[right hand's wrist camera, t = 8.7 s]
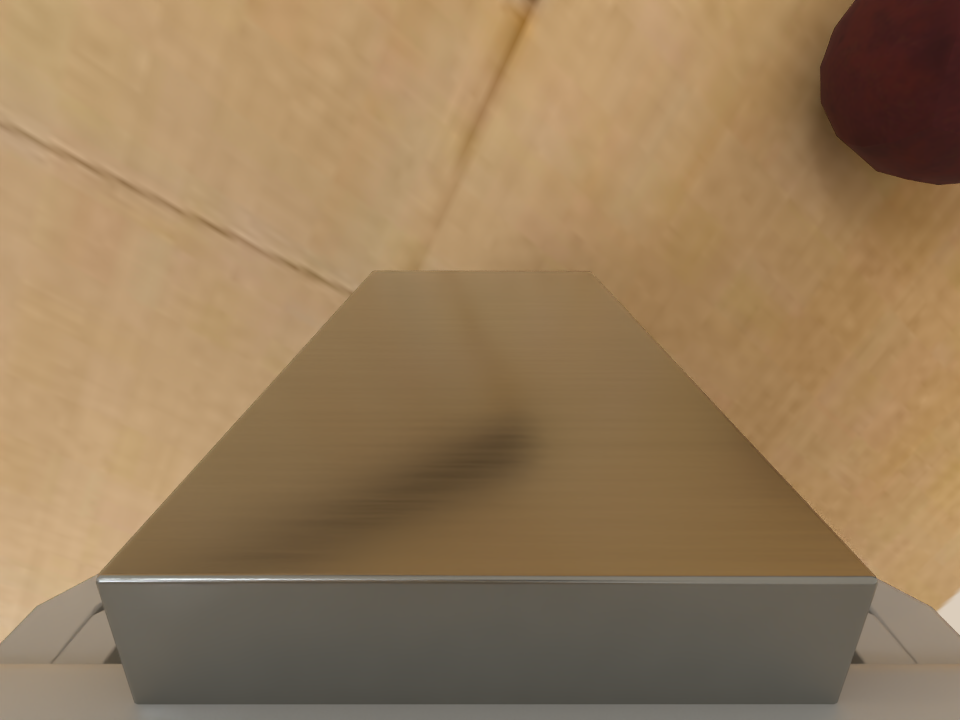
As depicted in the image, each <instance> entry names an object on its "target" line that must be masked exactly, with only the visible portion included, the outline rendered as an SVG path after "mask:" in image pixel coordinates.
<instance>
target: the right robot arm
mask: <svg viewBox="0 0 960 720" xmlns="http://www.w3.org/2000/svg"><path fill="white" fill-rule="evenodd" d="M97 576H98V574H97V575H95V576H93V577H91V578H89V579H88V580H86V581H84V582H82V583H80V584H78V585H76V586H74V587H72V588H71V589H69V590H67V591H65V592H63V593H61V594H59V595H57V596H55V597H53V598H52V599H50V600H48V601H46V602H44V603H42V604H40V605H38V606H37V607H36V608H35V609H34V610H33V611H32V612H31V613H30V614H29V615H28V616H27V617H26V618H25V619H24V620H23V621H22V622H21V623H20V624H19V625H18V626H17V627H16V628H15V629H14V630H13V631H12V632H11V633H10V634H9V635H8V636H7V637H6V638H5V639H4V640H3V641H2V642H1V643H0V720H960V635H959V634H958V633H957V632H956V631H955V630H954V629H953V628H952V627H951V626H950V625H949V624H948V623H947V622H946V621H945V620H944V619H943V618H942V617H941V616H940V615H939V614H938V613H937V612H936V611H935V610H934V609H933V608H932V607H931V606H929V605H927V604H925V603H923V602H921V601H919V600H917V599H915V598H913V597H911V596H910V595H908V594H906V593H904V592H902V591H900V590H898V589H896V588H894V587H892V586H890V585H889V584H887V583H885V582H883V581H881V580H879V579H877V582H878V585H877V588H876V591H875V594H874V597H873V600H872V603H871V606H870V609H869V612H868V615H867V618H866V620H865V623H864V626H863V629H862V632H861V635H860V638H859V641H858V644H857V647H856V650H855V653H854V656H853V659H852V661H851V664H850V667H849V670H848V673H847V676H846V679H845V682H844V685H843V688H842V691H841V694H840V697H839V700H838V702H837V703H836V704H136V703H134V700H133V697H132V694H131V691H130V688H129V685H128V682H127V678H126V675H125V672H124V669H123V666H122V663H121V660H120V657H119V654H118V650H117V647H116V644H115V641H114V638H113V635H112V632H111V629H110V626H109V623H108V619H107V616H106V613H105V610H104V607H103V604H102V601H101V598H100V595H99V591H98V588H97V585H96V578H97Z"/></svg>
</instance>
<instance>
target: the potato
mask: <svg viewBox="0 0 960 720" xmlns="http://www.w3.org/2000/svg"><path fill="white" fill-rule="evenodd" d="M820 81H821V104H822V106H823V108H824V110H825V112H826V114H827V116H828V119H829V121H830V123H831V125H832V127H833V129H834V131H835V133H836V135H837V137H839V138H840V139H841V140H842V141H843V142H844V143H845V144H847V145H848V146H849V147H850V148H851V149H852V150H854V151H855V152H856V153H857V154H858V155H859V156H860V157H862V158H863V159H864V160H865V161H866V162H867V163H868V164H869V165H870V166H872V167H873V168H874V169H875V170H876V171H878V172H882V173H886V174H889V175H893V176H897V177H900V178H904V179H908V180H914V181H919V182H924V183H930V184H936V185H943V184H956V183H960V0H855V1H854V2H853V4H852V5H851V6H850V8H849V9H848V10H847V12H846V13H845V14H844V16H843V17H842V18H841V20H840V21H839V22H838V24H837V25H836V27H835V29H834V31H833V33H832V35H831V38H830V41H829V44H828V47H827V50H826V53H825V56H824V58H823V61H822V64H821V66H820Z"/></svg>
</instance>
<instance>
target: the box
mask: <svg viewBox="0 0 960 720" xmlns="http://www.w3.org/2000/svg"><path fill="white" fill-rule="evenodd" d="M96 585H97V588H98V591H99V595H100V598H101V601H102V604H103V607H104V610H105V613H106V616H107V619H108V623H109V626H110V629H111V632H112V635H113V638H114V641H115V644H116V647H117V650H118V654H119V657H120V660H121V663H122V666H123V669H124V672H125V675H126V678H127V682H128V685H129V688H130V691H131V694H132V697H133V700H134V703H136V704H836V703H837V702H838V700H839V697H840V694H841V691H842V688H843V685H844V682H845V679H846V676H847V673H848V670H849V667H850V664H851V661H852V659H853V656H854V653H855V650H856V647H857V644H858V641H859V638H860V635H861V632H862V629H863V626H864V623H865V620H866V618H867V615H868V612H869V609H870V606H871V603H872V600H873V597H874V594H875V591H876V588H877V585H878V582H877V578H876V576H875V575H874V574H873V573H872V572H871V571H870V570H869V569H868V568H867V567H866V566H865V564H864V563H863V562H862V561H861V560H860V559H859V558H858V557H857V556H856V555H855V554H854V553H853V552H852V551H851V549H850V548H849V547H848V546H847V545H846V544H845V543H844V542H843V541H842V540H841V539H840V538H839V537H838V536H837V535H836V533H835V532H834V531H833V530H832V529H831V528H830V527H829V526H828V525H827V524H826V523H825V522H824V521H823V520H822V518H821V517H820V516H819V515H818V514H817V513H816V512H815V511H814V510H813V509H812V508H811V507H810V506H809V505H808V504H807V502H806V501H805V500H804V499H803V498H802V497H801V496H800V495H799V494H798V493H797V492H796V491H795V490H794V489H793V487H792V486H791V485H790V484H789V483H788V482H787V481H786V480H785V479H784V478H783V477H782V476H781V475H780V474H779V472H778V471H777V470H776V469H775V468H774V467H773V466H772V465H771V464H770V463H769V462H768V461H767V460H766V459H765V458H764V456H763V455H762V454H761V453H760V452H759V451H758V450H757V449H756V448H755V447H754V446H753V445H752V444H751V443H750V441H749V440H748V439H747V438H746V437H745V436H744V435H743V434H742V433H741V432H740V431H739V430H738V429H737V428H736V426H735V425H734V424H733V423H732V422H731V421H730V420H729V419H728V418H727V417H726V416H725V415H724V414H723V413H722V412H721V410H720V409H719V408H718V407H717V406H716V405H715V404H714V403H713V402H712V401H711V400H710V399H709V398H708V397H707V395H706V394H705V393H704V392H703V391H702V390H701V389H700V388H699V387H698V386H697V385H696V384H695V383H694V382H693V381H692V379H691V378H690V377H689V376H688V375H687V374H686V373H685V372H684V371H683V370H682V369H681V368H680V367H679V366H678V364H677V363H676V362H675V361H674V360H673V359H672V358H671V357H670V356H669V355H668V354H667V353H666V352H665V351H664V349H663V348H662V347H661V346H660V345H659V344H658V343H657V342H656V341H655V340H654V339H653V338H652V337H651V336H650V335H649V333H648V332H647V331H646V330H645V329H644V328H643V327H642V326H641V325H640V324H639V323H638V322H637V321H636V320H635V318H634V317H633V316H632V315H631V314H630V313H629V312H628V311H627V310H626V309H625V308H624V307H623V306H622V305H621V304H620V302H619V301H618V300H617V299H616V298H615V297H614V296H613V295H612V294H611V293H610V292H609V291H608V290H607V289H606V287H605V286H604V285H603V284H602V283H601V282H600V281H599V280H598V279H597V278H596V277H595V276H594V275H593V274H592V272H590V271H372V273H371V274H370V275H369V276H368V277H367V278H366V279H365V280H364V281H363V282H362V284H361V285H360V286H359V287H358V288H357V289H356V290H355V291H354V292H353V294H352V295H351V296H350V297H349V298H348V299H347V300H346V301H345V302H344V303H343V305H342V306H341V307H340V308H339V309H338V310H337V311H336V312H335V313H334V315H333V316H332V317H331V318H330V319H329V320H328V321H327V322H326V323H325V324H324V326H323V327H322V328H321V329H320V330H319V331H318V332H317V333H316V334H315V336H314V337H313V338H312V339H311V340H310V341H309V342H308V343H307V344H306V345H305V347H304V348H303V349H302V350H301V351H300V352H299V353H298V354H297V355H296V357H295V358H294V359H293V360H292V361H291V362H290V363H289V364H288V365H287V366H286V368H285V369H284V370H283V371H282V372H281V373H280V374H279V375H278V376H277V377H276V379H275V380H274V381H273V382H272V383H271V384H270V385H269V386H268V387H267V389H266V390H265V391H264V392H263V393H262V394H261V395H260V396H259V397H258V398H257V400H256V401H255V402H254V403H253V404H252V405H251V406H250V407H249V408H248V410H247V411H246V412H245V413H244V414H243V415H242V416H241V417H240V418H239V419H238V421H237V422H236V423H235V424H234V425H233V426H232V427H231V428H230V429H229V431H228V432H227V433H226V434H225V435H224V436H223V437H222V438H221V439H220V440H219V442H218V443H217V444H216V445H215V446H214V447H213V448H212V449H211V450H210V451H209V453H208V454H207V455H206V456H205V457H204V458H203V459H202V460H201V461H200V463H199V464H198V465H197V466H196V467H195V468H194V469H193V470H192V471H191V472H190V474H189V475H188V476H187V477H186V478H185V479H184V480H183V481H182V482H181V484H180V485H179V486H178V487H177V488H176V489H175V490H174V491H173V492H172V493H171V495H170V496H169V497H168V498H167V499H166V500H165V501H164V502H163V503H162V505H161V506H160V507H159V508H158V509H157V510H156V511H155V512H154V513H153V514H152V516H151V517H150V518H149V519H148V520H147V521H146V522H145V523H144V524H143V525H142V527H141V528H140V529H139V530H138V531H137V532H136V533H135V534H134V535H133V537H132V538H131V539H130V540H129V541H128V542H127V543H126V544H125V545H124V546H123V548H122V549H121V550H120V551H119V552H118V553H117V554H116V555H115V556H114V558H113V559H112V560H111V561H110V562H109V563H108V564H107V565H106V566H105V567H104V569H103V570H102V571H101V572H100V573H99V574H98V576H97V578H96Z"/></svg>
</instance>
